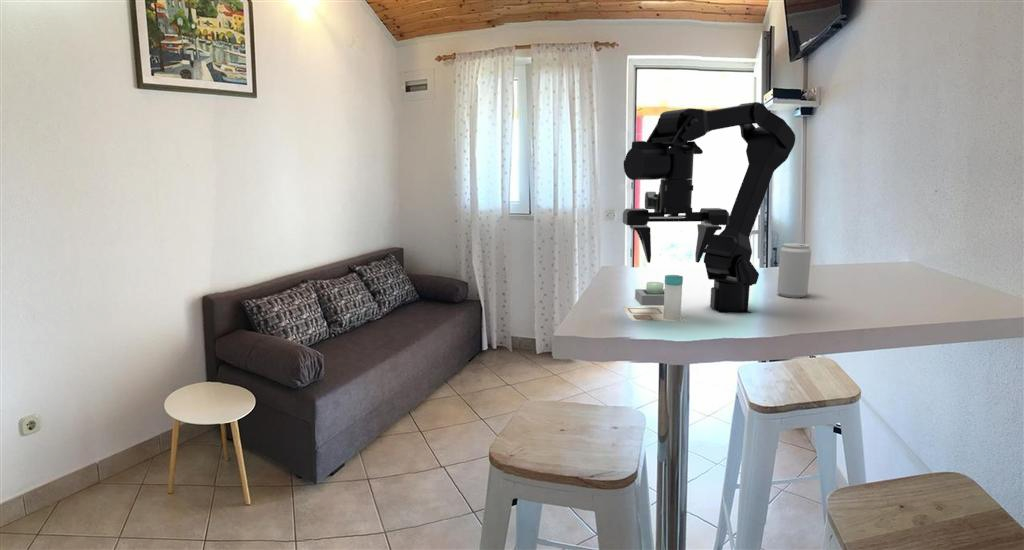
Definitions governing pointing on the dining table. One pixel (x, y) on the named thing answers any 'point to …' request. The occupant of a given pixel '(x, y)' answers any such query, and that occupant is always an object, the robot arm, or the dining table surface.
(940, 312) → the dining table surface
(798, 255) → the beverage can
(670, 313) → the marker
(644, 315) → the drawing board
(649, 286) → the button
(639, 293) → the button housing
